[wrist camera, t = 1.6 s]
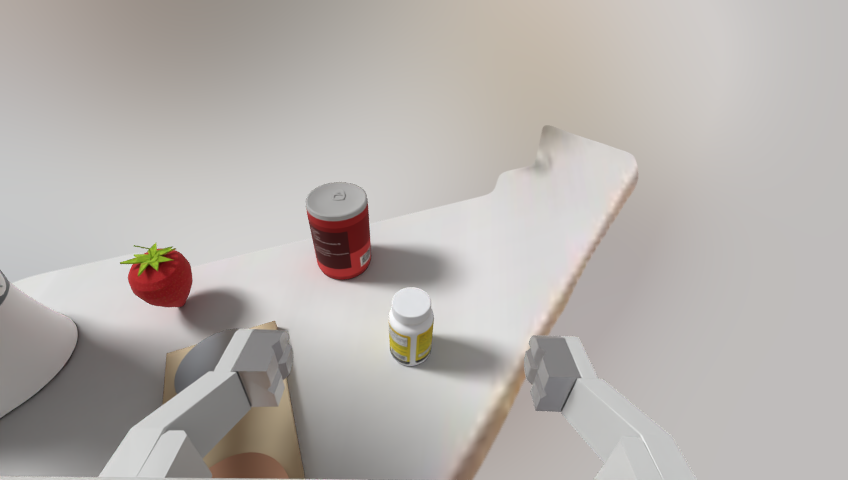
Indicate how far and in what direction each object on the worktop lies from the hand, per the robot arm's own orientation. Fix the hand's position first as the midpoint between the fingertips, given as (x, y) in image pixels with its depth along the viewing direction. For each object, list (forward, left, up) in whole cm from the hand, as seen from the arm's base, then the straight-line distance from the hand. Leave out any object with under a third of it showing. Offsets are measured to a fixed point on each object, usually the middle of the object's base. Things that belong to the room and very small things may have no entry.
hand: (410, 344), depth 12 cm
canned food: (+4, +32, -26) cm, 41 cm away
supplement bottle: (+7, +15, -26) cm, 31 cm away
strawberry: (-17, +32, -26) cm, 45 cm away
